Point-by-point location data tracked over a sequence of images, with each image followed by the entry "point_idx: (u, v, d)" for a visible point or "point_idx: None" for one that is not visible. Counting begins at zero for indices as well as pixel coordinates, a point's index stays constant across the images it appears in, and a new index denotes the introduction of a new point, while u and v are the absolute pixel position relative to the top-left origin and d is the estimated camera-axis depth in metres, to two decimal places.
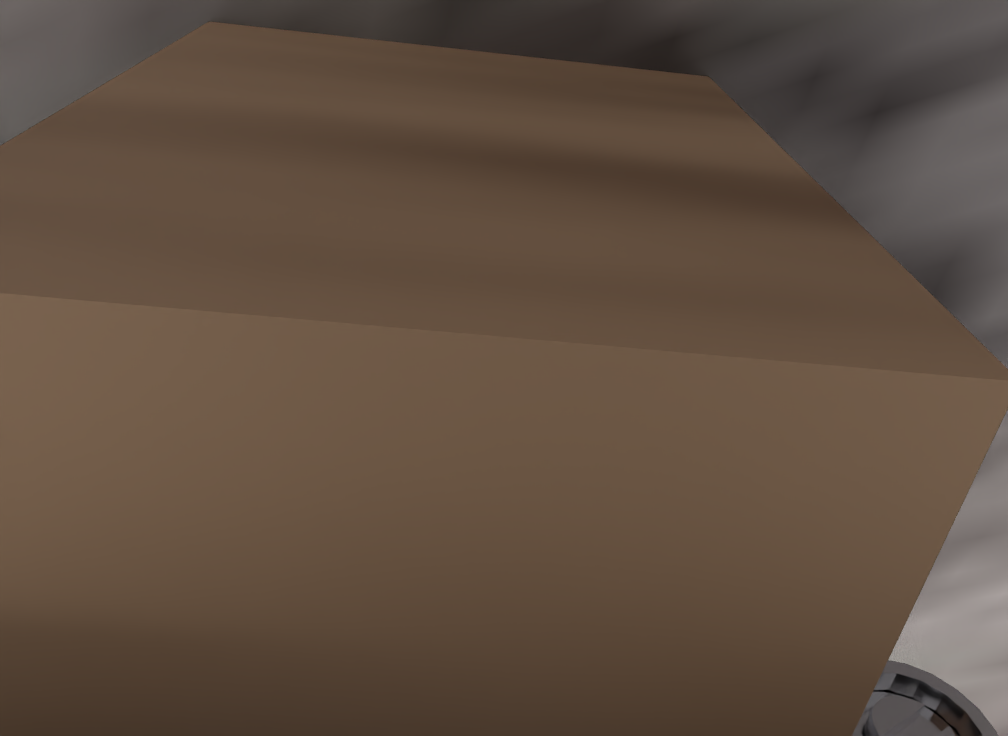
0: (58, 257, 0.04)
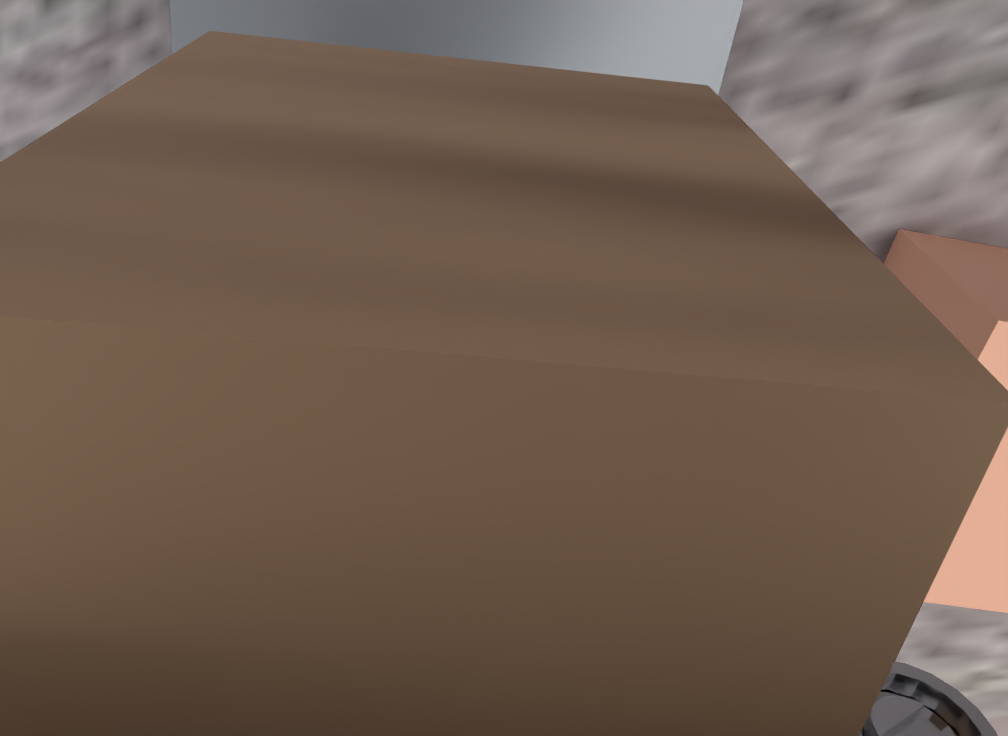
0: (59, 278, 0.04)
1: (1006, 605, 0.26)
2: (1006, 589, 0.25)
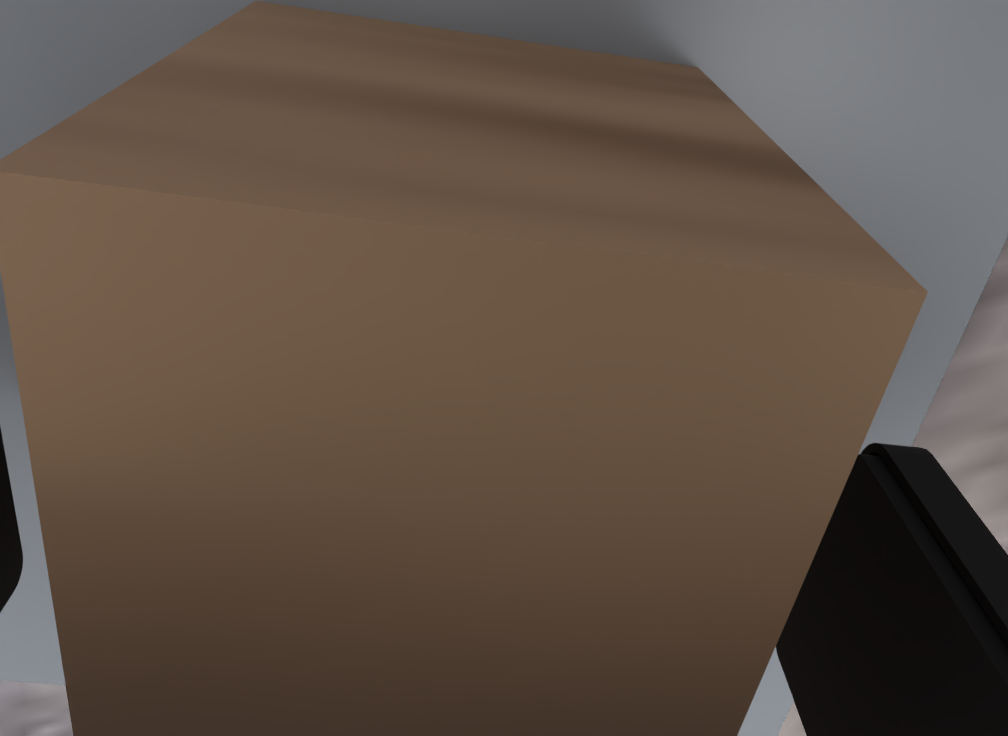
0: (184, 170, 0.05)
1: None
2: None
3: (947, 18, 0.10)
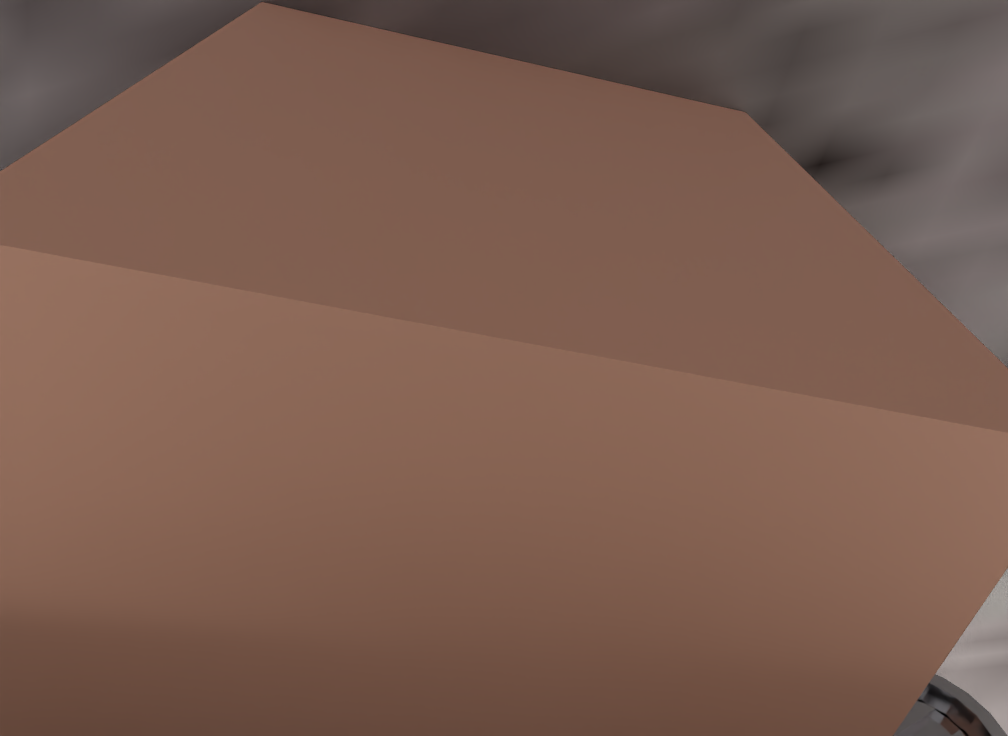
0: None
1: None
2: None
3: None
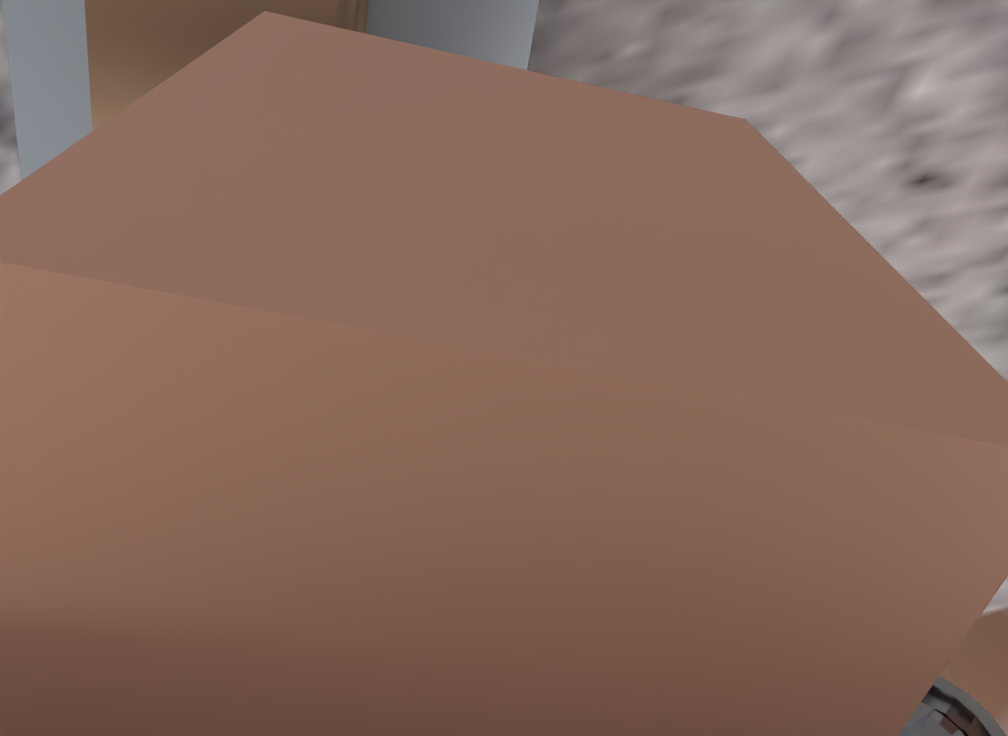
0: None
1: None
2: None
3: None
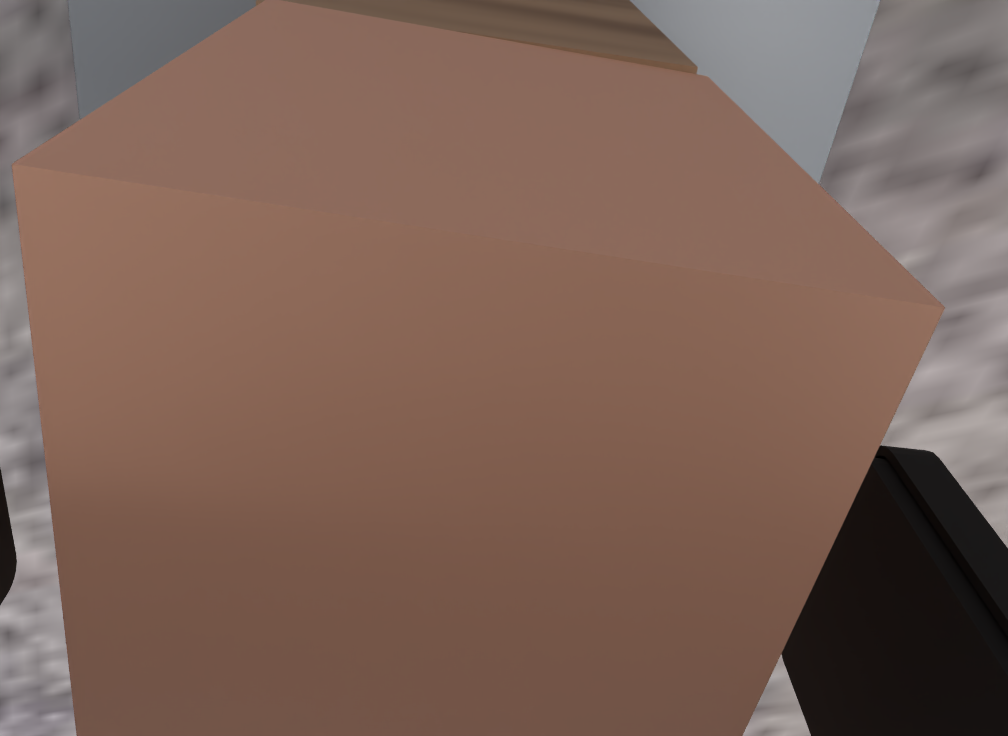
0: (340, 8, 0.10)
1: None
2: None
3: None
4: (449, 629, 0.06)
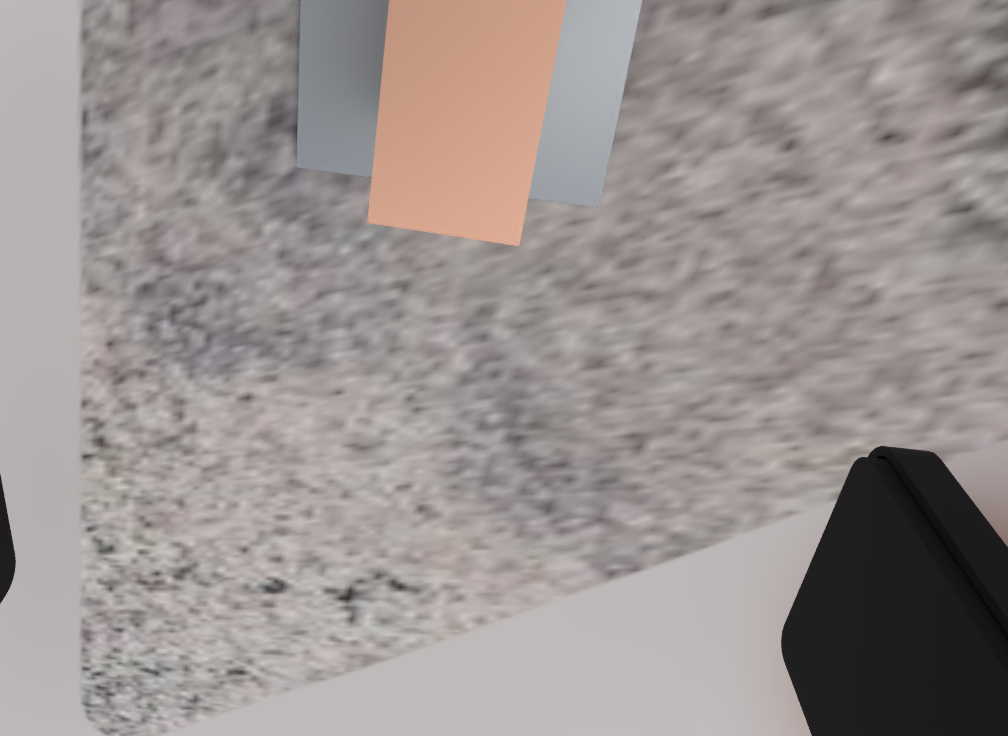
0: None
1: (511, 237, 0.29)
2: (504, 218, 0.28)
3: None
4: (475, 42, 0.25)
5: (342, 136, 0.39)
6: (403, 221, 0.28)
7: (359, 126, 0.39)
